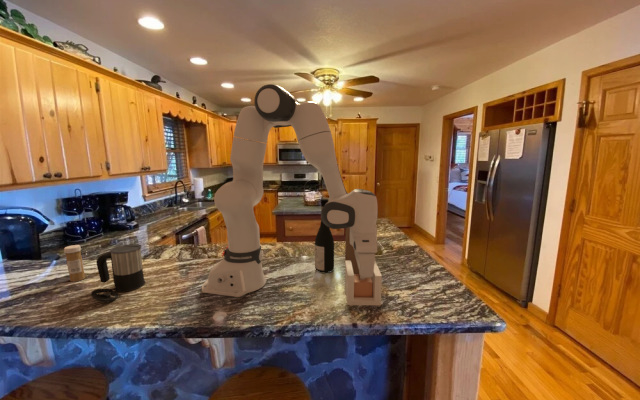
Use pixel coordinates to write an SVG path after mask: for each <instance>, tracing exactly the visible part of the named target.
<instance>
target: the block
mask: <svg viewBox="0 0 640 400" xmlns="http://www.w3.org/2000/svg"><path fill="white" fill-rule="evenodd" d="M354 297H364V298H372V280H371V278H365V280H360V277H359V274H354Z"/></svg>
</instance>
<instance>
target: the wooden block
mask: <svg viewBox="0 0 640 400" xmlns="http://www.w3.org/2000/svg"><path fill="white" fill-rule="evenodd" d="M344 240H345V244H344V245H345V248H344V249H345V250H344V253H345V254H344V256H345V257H344V260H345V261H351V263H352V268H353V272H354V274H359V269H358V265H357V261H356V257H355V254H354V248H353V246H352V245H351V244H350V228H345V239H344ZM345 261H344V262H345Z"/></svg>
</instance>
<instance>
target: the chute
mask: <svg viewBox="0 0 640 400" xmlns="http://www.w3.org/2000/svg"><path fill="white" fill-rule="evenodd" d="M371 280H372V298H364V297H354V272H353V268H352V263H351V261H344V288H345V289H344V290H345V296H346V297H345V298H346V305H347V306H381V305H382V284H383V283H382V280H383V276H382V273H381V270H380V269H379V267H378V264H377V262H376V261H375V263H374V272H373V276H372V277H371Z"/></svg>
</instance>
